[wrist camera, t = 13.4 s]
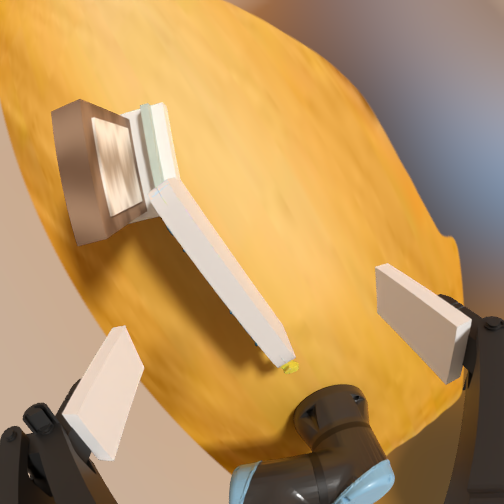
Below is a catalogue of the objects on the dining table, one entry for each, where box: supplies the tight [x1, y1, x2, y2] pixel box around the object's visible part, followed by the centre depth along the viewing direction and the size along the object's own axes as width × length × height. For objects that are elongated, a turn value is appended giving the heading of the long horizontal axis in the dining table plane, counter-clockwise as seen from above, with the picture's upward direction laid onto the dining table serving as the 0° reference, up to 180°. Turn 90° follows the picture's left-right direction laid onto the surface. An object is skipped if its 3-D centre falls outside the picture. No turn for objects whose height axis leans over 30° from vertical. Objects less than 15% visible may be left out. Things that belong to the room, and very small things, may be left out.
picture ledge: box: [120, 103, 180, 224], centre depth 34 cm, size 14×12×4 cm
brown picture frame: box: [51, 99, 147, 246], centre depth 27 cm, size 12×4×14 cm, turn 10°
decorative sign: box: [147, 177, 299, 374], centre depth 38 cm, size 32×4×10 cm, turn 32°
